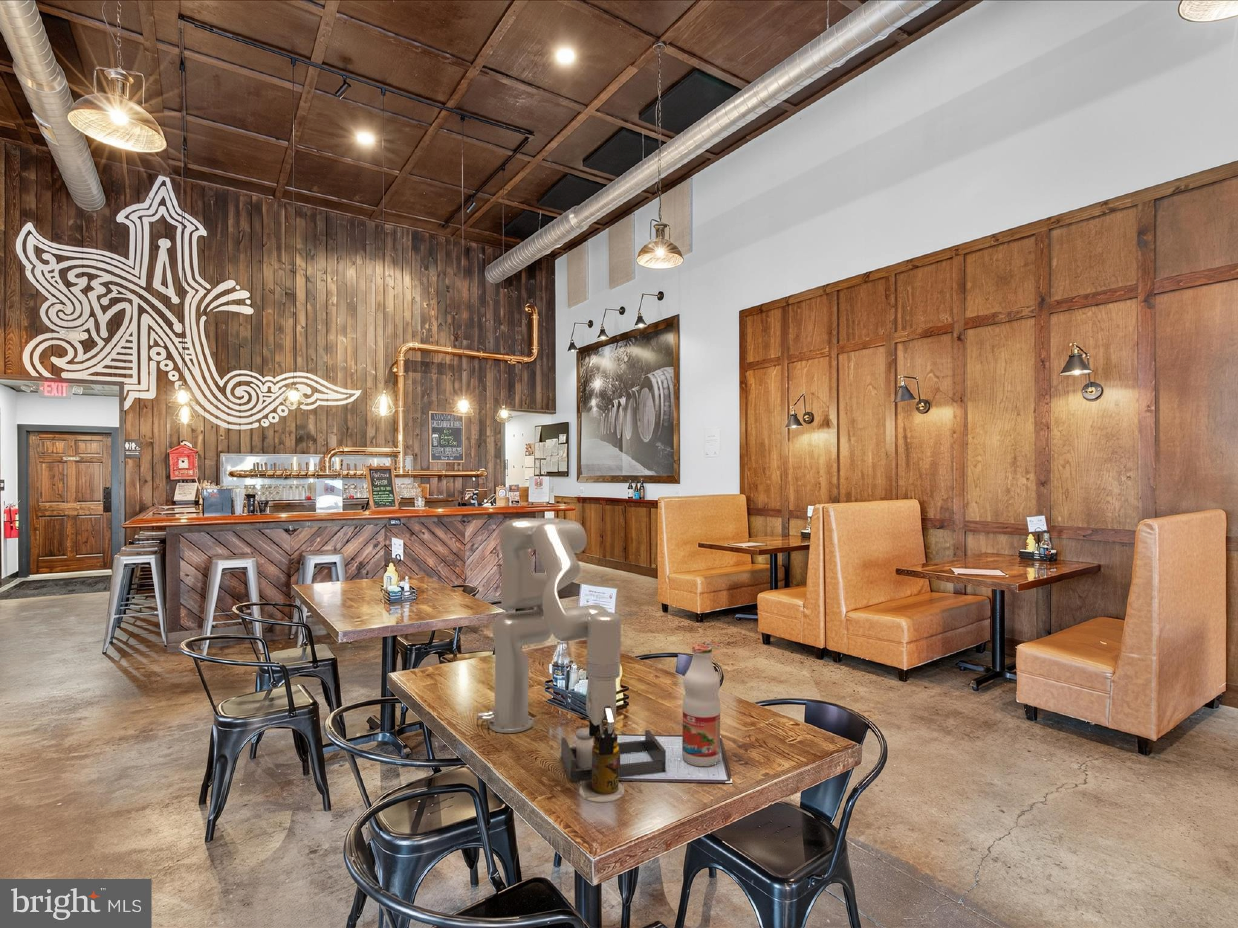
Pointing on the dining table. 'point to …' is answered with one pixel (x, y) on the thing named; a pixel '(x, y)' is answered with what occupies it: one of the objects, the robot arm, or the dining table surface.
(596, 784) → the condiment
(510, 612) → the robot arm
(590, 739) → the salt shaker
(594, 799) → the coaster
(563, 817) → the dining table surface
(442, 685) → the dining table surface
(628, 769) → the caddy
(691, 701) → the fruit juice
